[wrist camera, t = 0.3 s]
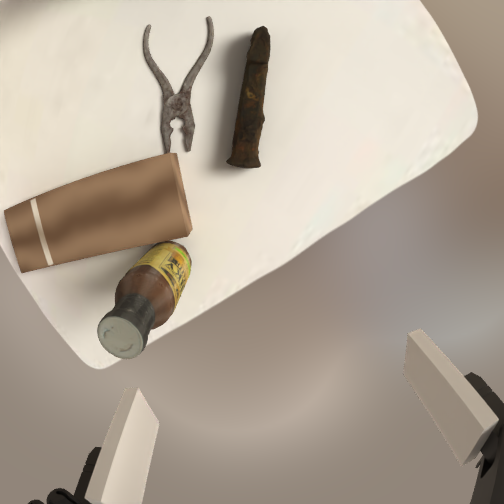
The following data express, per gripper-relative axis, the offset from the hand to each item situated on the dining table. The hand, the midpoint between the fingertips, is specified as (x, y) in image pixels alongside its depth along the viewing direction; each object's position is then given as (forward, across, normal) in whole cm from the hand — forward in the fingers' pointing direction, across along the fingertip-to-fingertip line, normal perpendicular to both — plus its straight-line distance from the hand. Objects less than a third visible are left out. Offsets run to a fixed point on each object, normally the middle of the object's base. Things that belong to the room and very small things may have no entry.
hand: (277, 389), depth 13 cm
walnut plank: (+28, -21, +8) cm, 36 cm away
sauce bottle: (+28, -11, -1) cm, 30 cm away
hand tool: (+28, +3, +18) cm, 34 cm away
